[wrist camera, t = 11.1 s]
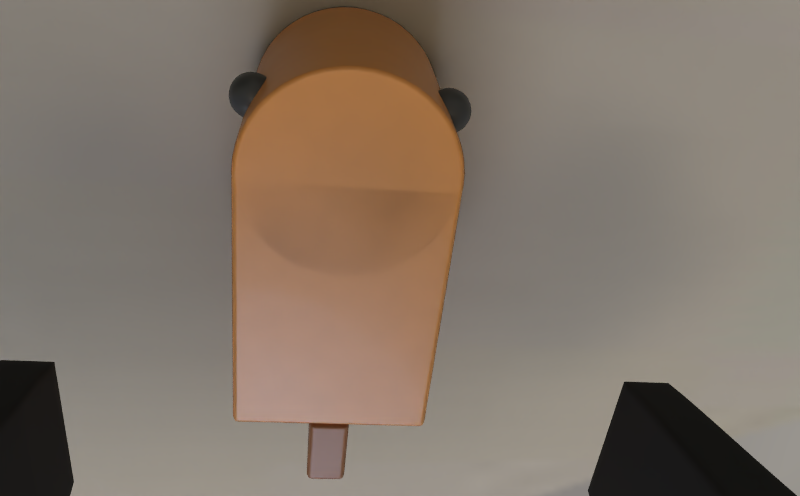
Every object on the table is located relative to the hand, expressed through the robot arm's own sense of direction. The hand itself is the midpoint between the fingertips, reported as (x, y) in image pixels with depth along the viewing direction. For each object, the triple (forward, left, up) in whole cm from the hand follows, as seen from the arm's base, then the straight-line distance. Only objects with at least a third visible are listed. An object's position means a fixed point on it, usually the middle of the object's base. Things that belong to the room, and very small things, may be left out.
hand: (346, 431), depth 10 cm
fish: (0, 0, -6) cm, 6 cm away
